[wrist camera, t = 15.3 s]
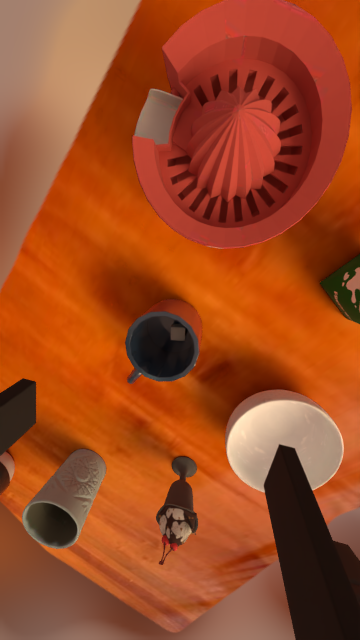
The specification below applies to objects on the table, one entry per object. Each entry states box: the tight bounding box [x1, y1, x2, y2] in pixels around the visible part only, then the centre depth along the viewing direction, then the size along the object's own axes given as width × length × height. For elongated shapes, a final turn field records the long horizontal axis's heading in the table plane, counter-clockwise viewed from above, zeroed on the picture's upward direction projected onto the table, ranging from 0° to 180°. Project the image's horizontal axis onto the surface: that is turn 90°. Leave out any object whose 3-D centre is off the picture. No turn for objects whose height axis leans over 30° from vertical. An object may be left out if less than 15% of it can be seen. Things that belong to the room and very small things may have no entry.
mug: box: [125, 299, 202, 384], centre depth 35 cm, size 13×10×10 cm
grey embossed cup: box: [22, 449, 106, 549], centre depth 44 cm, size 10×10×12 cm
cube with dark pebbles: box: [171, 323, 187, 341], centre depth 38 cm, size 2×2×2 cm
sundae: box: [156, 457, 198, 565], centre depth 39 cm, size 7×7×15 cm
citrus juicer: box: [132, 0, 352, 249], centre depth 24 cm, size 16×17×20 cm
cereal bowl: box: [225, 389, 344, 492], centre depth 38 cm, size 17×17×7 cm
